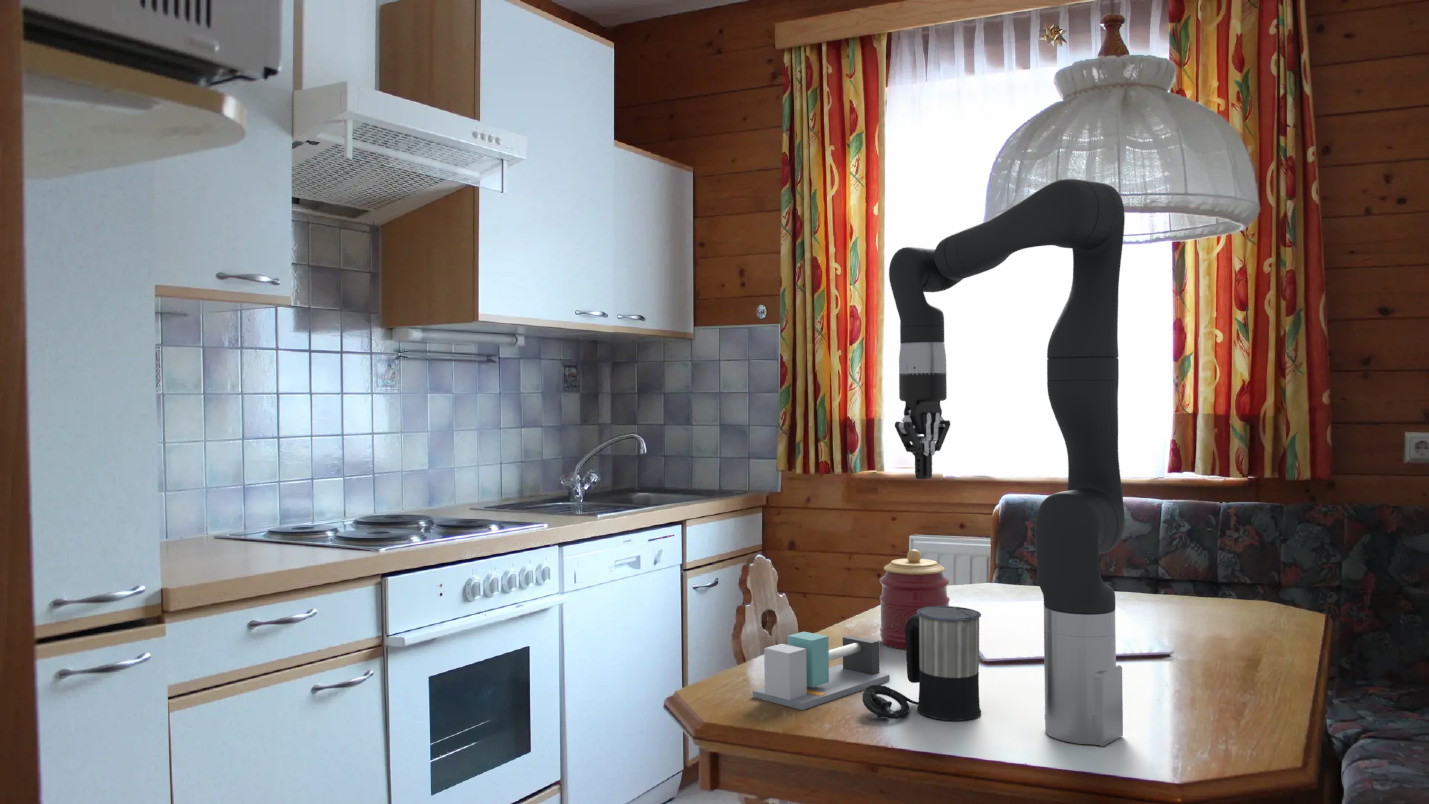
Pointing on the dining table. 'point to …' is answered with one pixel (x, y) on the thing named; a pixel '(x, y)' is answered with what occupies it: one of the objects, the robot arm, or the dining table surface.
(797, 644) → the sleeve
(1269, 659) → the dining table surface
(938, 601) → the canister
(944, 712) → the milk frother
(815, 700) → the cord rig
